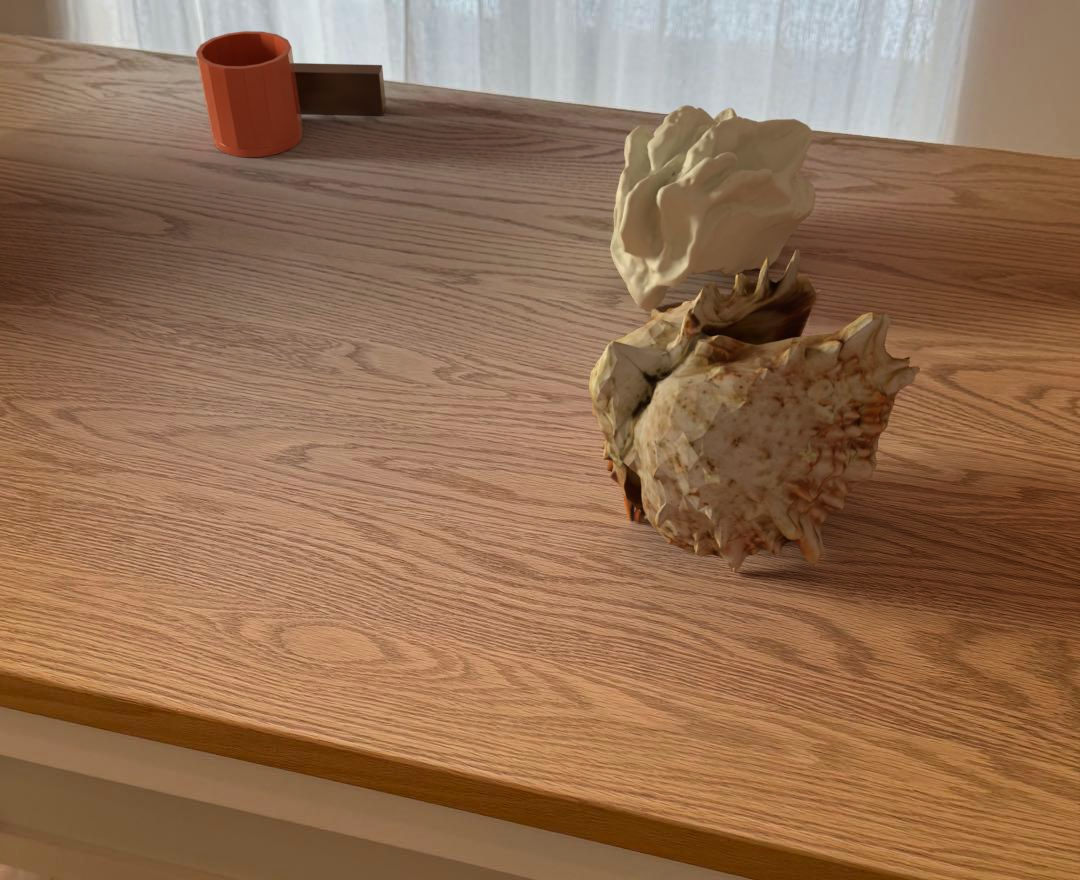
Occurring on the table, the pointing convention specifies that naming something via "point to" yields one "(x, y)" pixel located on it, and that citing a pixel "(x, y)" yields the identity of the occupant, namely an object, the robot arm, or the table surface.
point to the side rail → (340, 89)
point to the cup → (250, 93)
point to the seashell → (744, 416)
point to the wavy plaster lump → (707, 198)
